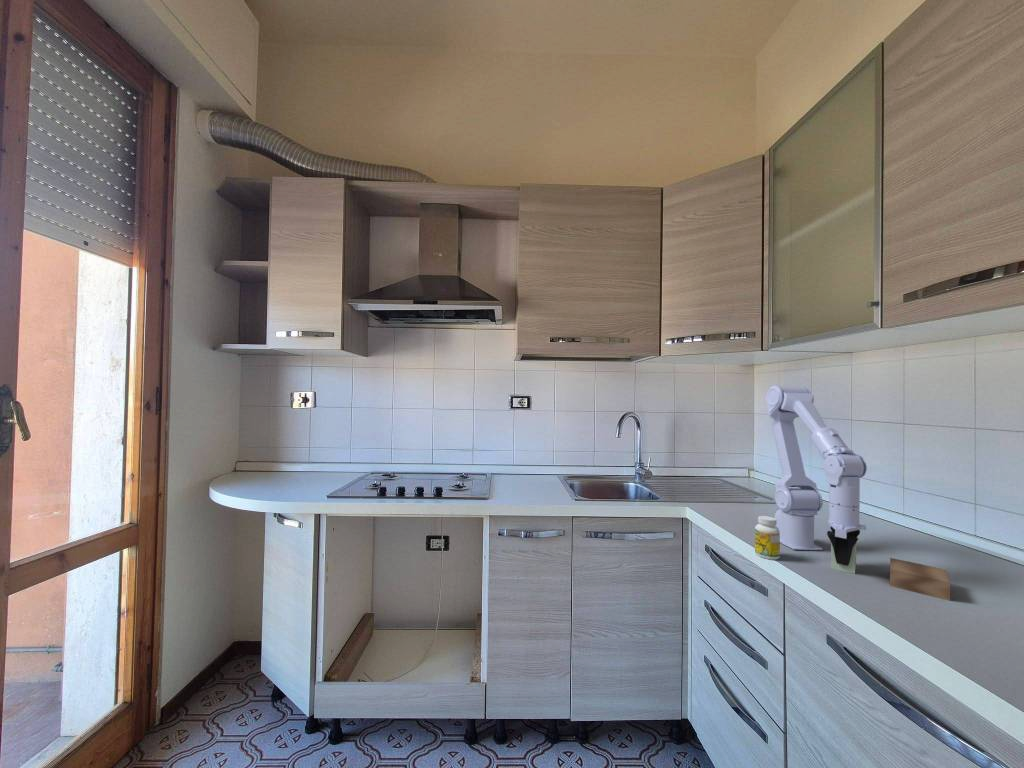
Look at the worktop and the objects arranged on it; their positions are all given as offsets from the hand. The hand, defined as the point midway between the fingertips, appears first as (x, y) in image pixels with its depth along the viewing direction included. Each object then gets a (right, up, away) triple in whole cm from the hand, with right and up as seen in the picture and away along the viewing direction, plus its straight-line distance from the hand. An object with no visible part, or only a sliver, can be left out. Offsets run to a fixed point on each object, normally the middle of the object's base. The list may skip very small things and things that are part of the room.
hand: (843, 561), depth 99 cm
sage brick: (0, -2, 0) cm, 2 cm away
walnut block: (+9, -2, -9) cm, 13 cm away
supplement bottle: (-14, -2, +6) cm, 16 cm away
